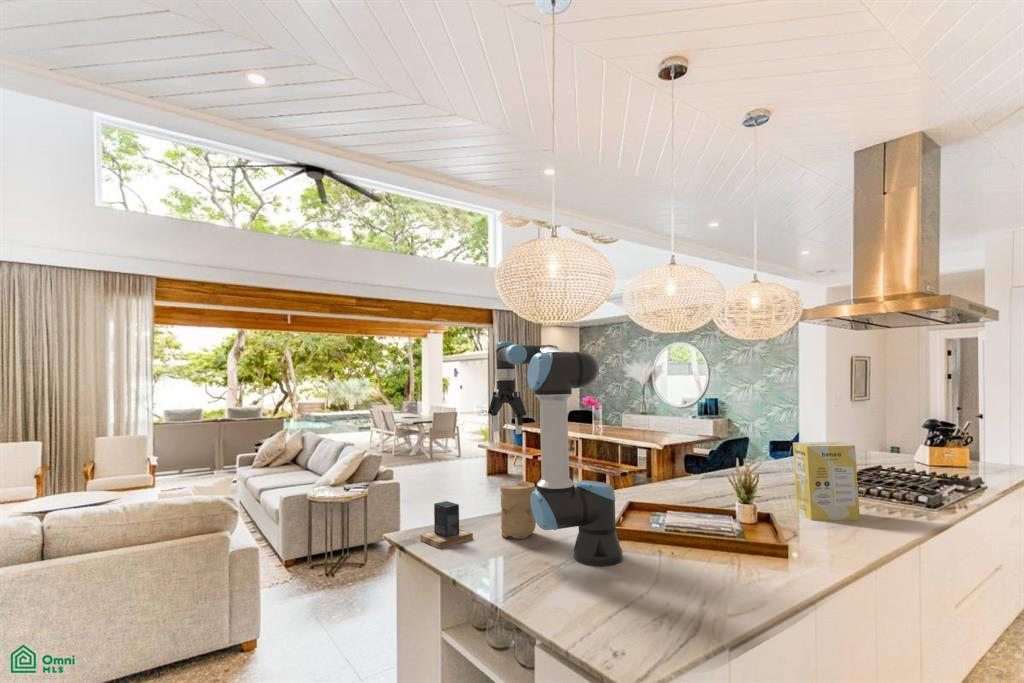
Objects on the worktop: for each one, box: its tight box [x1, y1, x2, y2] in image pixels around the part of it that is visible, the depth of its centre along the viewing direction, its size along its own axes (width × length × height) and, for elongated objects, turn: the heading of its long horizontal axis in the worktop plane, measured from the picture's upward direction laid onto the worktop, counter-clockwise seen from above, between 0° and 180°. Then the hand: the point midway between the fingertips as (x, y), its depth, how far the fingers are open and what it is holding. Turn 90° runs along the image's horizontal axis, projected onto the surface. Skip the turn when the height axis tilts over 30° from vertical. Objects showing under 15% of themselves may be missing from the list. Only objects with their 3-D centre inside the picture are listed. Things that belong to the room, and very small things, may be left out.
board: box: [420, 528, 474, 550], centre depth 178 cm, size 12×14×2 cm
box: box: [433, 500, 460, 538], centre depth 179 cm, size 8×6×11 cm
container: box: [500, 481, 537, 540], centre depth 182 cm, size 13×13×18 cm
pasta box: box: [792, 441, 861, 521], centre depth 199 cm, size 18×10×28 cm, turn 88°
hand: (506, 432), depth 202 cm, fingers open, 13 cm apart
